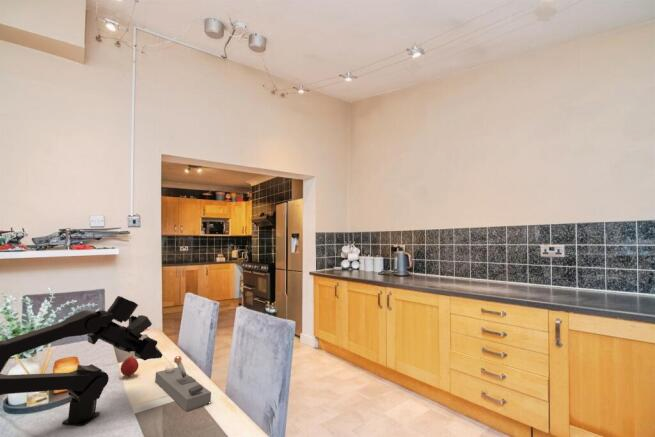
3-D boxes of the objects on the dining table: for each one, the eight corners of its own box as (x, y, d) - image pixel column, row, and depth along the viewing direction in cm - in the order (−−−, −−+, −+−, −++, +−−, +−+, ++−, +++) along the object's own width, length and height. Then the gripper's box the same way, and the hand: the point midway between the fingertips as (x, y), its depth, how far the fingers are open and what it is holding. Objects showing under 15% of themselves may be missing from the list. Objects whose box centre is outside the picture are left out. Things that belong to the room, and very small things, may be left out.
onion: (128, 380, 121) (131, 358, 122) (115, 378, 122) (118, 356, 123) (140, 375, 127) (142, 353, 127) (128, 373, 128) (130, 352, 129)
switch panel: (185, 411, 102) (186, 398, 102) (155, 381, 121) (156, 371, 122) (210, 403, 107) (211, 391, 108) (177, 376, 127) (177, 366, 127)
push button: (166, 373, 121) (167, 368, 121) (164, 371, 123) (164, 366, 123) (175, 371, 123) (175, 366, 123) (172, 369, 125) (172, 364, 125)
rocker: (191, 394, 105) (191, 391, 104) (188, 392, 106) (188, 389, 106) (202, 389, 107) (202, 386, 107) (199, 387, 109) (199, 384, 109)
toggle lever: (182, 379, 114) (174, 359, 112) (179, 377, 115) (171, 358, 114) (189, 374, 115) (181, 355, 114) (186, 372, 117) (178, 353, 115)
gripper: (148, 315, 101) (183, 336, 111) (119, 307, 111) (154, 326, 122) (123, 351, 95) (163, 369, 105) (95, 338, 106) (134, 356, 116)
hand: (154, 353), depth 112 cm, fingers open, 9 cm apart
